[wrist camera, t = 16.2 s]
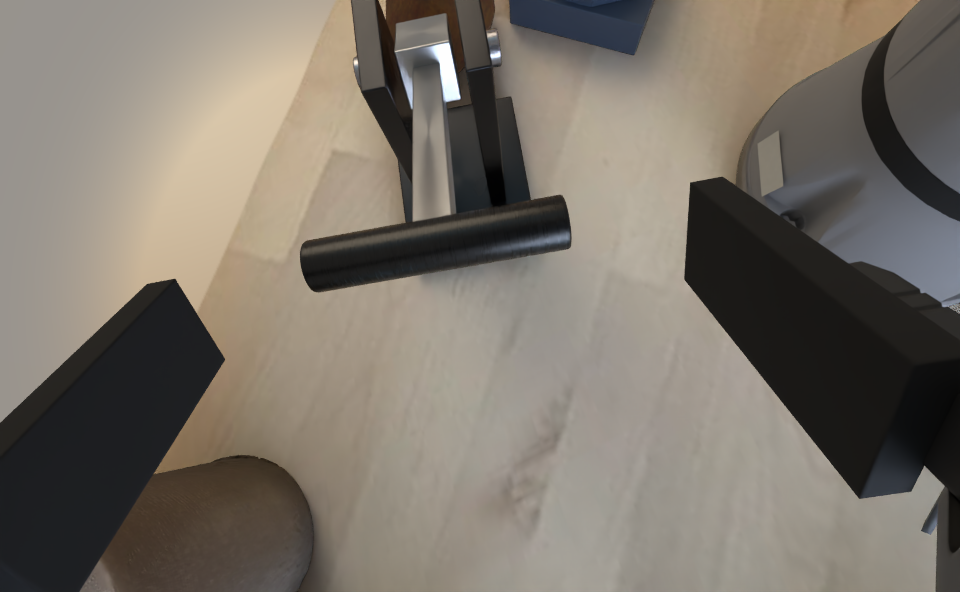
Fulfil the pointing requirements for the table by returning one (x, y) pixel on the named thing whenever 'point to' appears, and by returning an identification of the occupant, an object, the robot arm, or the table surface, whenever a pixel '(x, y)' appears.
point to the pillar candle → (211, 532)
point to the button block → (586, 20)
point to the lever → (434, 191)
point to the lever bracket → (472, 128)
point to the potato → (416, 3)
